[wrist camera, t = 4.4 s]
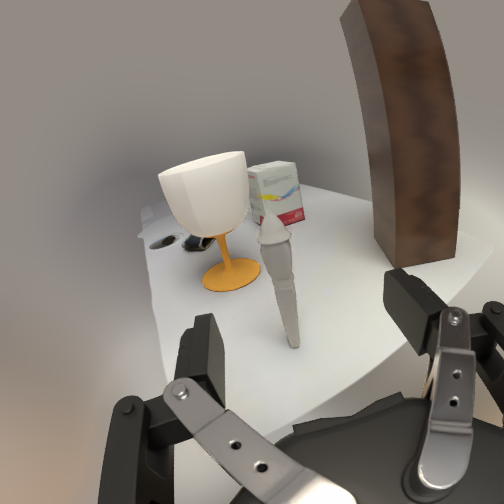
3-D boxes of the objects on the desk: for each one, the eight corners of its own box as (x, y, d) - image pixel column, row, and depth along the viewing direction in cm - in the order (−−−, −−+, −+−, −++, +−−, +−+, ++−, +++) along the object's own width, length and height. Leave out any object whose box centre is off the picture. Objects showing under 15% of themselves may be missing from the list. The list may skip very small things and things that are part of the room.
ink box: (306, 219, 56) (296, 161, 51) (267, 231, 54) (254, 171, 49) (288, 209, 64) (278, 158, 59) (253, 220, 62) (241, 168, 57)
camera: (181, 253, 54) (174, 233, 52) (205, 231, 63) (199, 213, 61) (203, 252, 52) (196, 231, 50) (225, 229, 61) (220, 211, 59)
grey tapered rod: (308, 353, 25) (286, 212, 19) (280, 356, 26) (248, 219, 20) (307, 335, 28) (286, 202, 22) (281, 338, 28) (252, 207, 22)
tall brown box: (429, 229, 41) (402, 20, 26) (457, 256, 32) (431, 2, 17) (374, 237, 43) (339, 18, 28) (394, 268, 34) (355, -7, 19)
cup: (275, 252, 46) (252, 147, 39) (262, 295, 36) (229, 161, 29) (208, 258, 49) (180, 163, 42) (181, 298, 39) (140, 182, 32)
